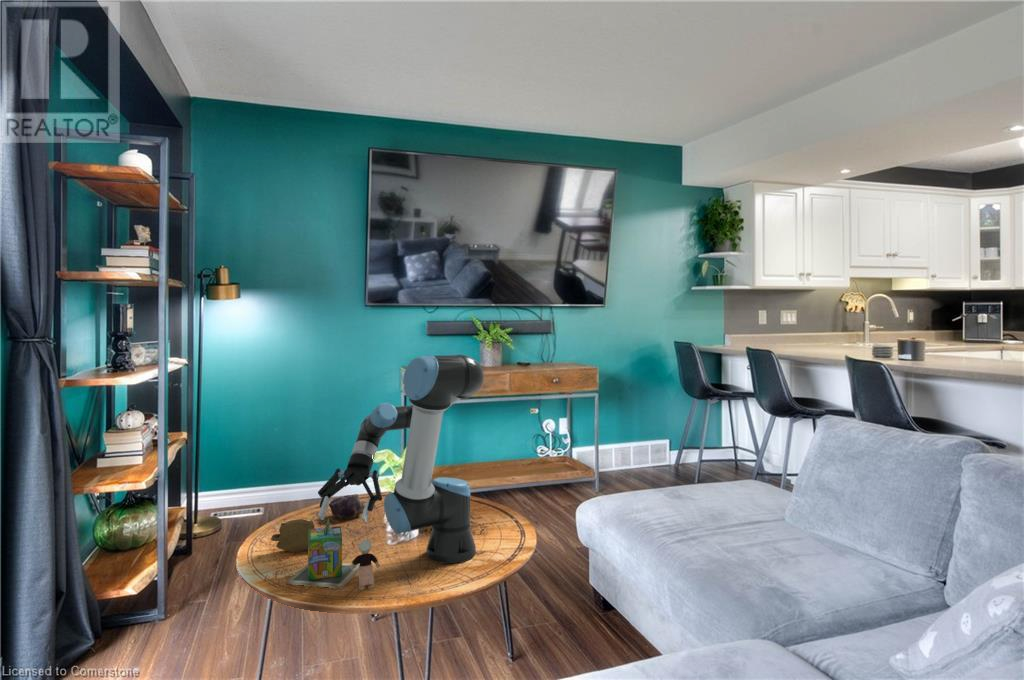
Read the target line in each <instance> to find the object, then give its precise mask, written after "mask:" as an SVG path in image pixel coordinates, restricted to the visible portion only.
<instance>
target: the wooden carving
mask: <svg viewBox="0 0 1024 680" xmlns="http://www.w3.org/2000/svg"><path fill="white" fill-rule="evenodd" d="M314 528H315V523H314V521H313V520H307V519H302V518H298V519H292V520H289V521H286V522H284V523H283V522H282V523H281V524H280V526H279V529H278V532H279V533H274V534H273V535H271V538H270V541H272V542H277V543H276V546H275V547H276V548H277V549H279V550H283V551H286V552H289V553H298V552H304V551H306V550H307V551H308V530H309V529H314Z"/></svg>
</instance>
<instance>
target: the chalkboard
mask: <svg viewBox="0 0 1024 680" xmlns="http://www.w3.org/2000/svg"><path fill="white" fill-rule="evenodd" d="M351 565H352V563H343V562H342V576H341V577H332V578H323V579H316V580H310V581H309V580H308V563H307V564H306V565H305V566H303V567H301V569H300V570H298V571H297V572H296V573H295V574H293V575H292V576H291V577H290V578H289V579H287V580H286V581H285V585H286V584H294V585H293V586H298V585H304V586H303V587H310V586H318V587H317V588H323V587H329V588H328V589H336V588H340V589H339V590H341V589H343V588H344V587H345V586H346V584H348V583H349V581H351V580H352V578H354V577H355V575H356V574H358V573H359V565H360V564H357V565H355V567H354V569H353V570H351V569H350V567H351Z"/></svg>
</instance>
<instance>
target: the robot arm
mask: <svg viewBox="0 0 1024 680" xmlns="http://www.w3.org/2000/svg"><path fill="white" fill-rule="evenodd" d="M402 381H403V382H402V383H403V385H404V386H403V391H404V395H406V397H407V398H408V401H409V403H410V404H411V405H402V406H395V405H393V404H391V403H389V402H381V403H379V404H378V405H376V407H374V409H373V410H372V411H370V412H371V413H370V414H368V415H366V416H364V418H363V419H362V420H363V421H362V422H361V423H360V428H359V431H358V435H357V436H356V437H357V438H356V440H355V443H354V446H353V449H352V451H351V455H350V456H349V460H348V462H347V466H346V469H345V470H342V469H340V468H336V469H335V471H334V473H333V475H332V476H331V477H330V478H329V479H328V480H327V481H326V482H325V483H324V485H322V487H321V488H320V489H318V491H317V495H318V496H319V497H320V499H321V500H320V503H319V508H320V509H319V512H318V518H319V519H320V520H321V521H324V520H325V516H326V515H327V511H328V509H329V507H330V506H329V504H330V502H331V500H330V498H332V497H333V496H334V495H335V494H337V493H338V492H340V491H341V490H343V489H344V488H346V487H348V486H349V485H350V486H361V485H362V486H363V488H364V489H365V491H366V493H367V495H368V497H369V498H366V502H365V503H364V505H365V507H364V510H363V513H362V514H361V518H360V519H361V520H362V522H363V523H365V524H366V523H367V522H368V521H367V520H368V518H369V513H370V512H373V510H374V506H375V504H376V502H377V501H380V502H381V501H382V500H384V501H383V504H384V508H383V509H384V513H385V516H386V520H387V523H388V525H389V526H390V529H392V531H394V532H395V533H399V534H402V533H410V532H411V531H416V530H421V529H425V528H429V527H432V529H431V532H430V537H429V539H428V542H427V545H426V557H427V559H429V560H430V561H433V562H436V563H441V564H456V563H462V562H463V563H464V562H466V561H469V560H471V559H473V558H474V557H475V556H476V550H477V549H476V548H477V547H476V543H475V540H474V537H473V534H472V530H471V496H472V495H471V486H470V483H468V482H467V481H466V480H464V479H460V478H455V477H436V478H433V472H434V468H435V462H436V457H437V450H438V445H439V440H440V433H441V428H442V422H443V417H444V412H445V411H446V410H448V409H450V407H451V406H452V405H454V404H455V403H457V402H458V401H460V400H466V399H469V398H470V397H472V396H474V395H475V394H477V393H478V391H480V389H481V388H482V386H483V383H484V370H483V368H482V366H481V365H480V363H479V362H478V361H477V360H476V359H475V358H473V357H471V356H469V355H465V354H452V355H451V354H445V355H443V354H442V355H432V354H428V355H424V356H417V357H414V358H413V359H411V360H410V361H409V362H408V364H407V366H406V367H405V370H404V373H403V380H402ZM404 429H406V430H407V429H409V431H408V437H407V443H406V449H405V454H404V461H403V467H402V473H401V478H400V479H398V480H396V482H395V485H394V490H393V492H389V493H387V494H386V495H385V498H384V499H383V496H382V492H381V488H380V487H381V486H380V484H379V483H380V482H379V477H380V474H379V472H378V471H377V470H376V469H375V470H373V471H372V468H373V464H374V460H375V458H376V455H375V453H376V454H377V451H378V448H379V445H380V442H381V439H382V437H384V436H385V434H386V433H387V431H397V430H404ZM372 455H373V459H374V460H373V459H372ZM374 457H375V458H374ZM369 478H371V480H372V482H373V483H372V484H373V488H374V491H375V494H373V491H372V490H371V488H370V486H369V484H368V483H367V480H368V479H369Z"/></svg>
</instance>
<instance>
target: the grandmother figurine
mask: <svg viewBox="0 0 1024 680" xmlns="http://www.w3.org/2000/svg"><path fill="white" fill-rule="evenodd" d="M370 550H372V544H371V541H370V540H367V539H365V540H362V541H361V542H360V543H359V545H358V551H360V552H361V554H359V555H357V556H355V558H354V559H353V560H352V561H351V564H352V565H351V567H350V569H351V570H353V569H354V567H355V565H357V564H359V571H358V584H359V585H358V589H359V590H360V591H363V590H366V589H367V588H368V589H374V588H375V587H376V583H375V582H374V581H375V579H374V568H373V564H372V563H374V565H375V567H376V568H377V569H379V568H380V567H381V565H380V563H379V560H378V558H377V557H376V555H374V554H372V553H370Z"/></svg>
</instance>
